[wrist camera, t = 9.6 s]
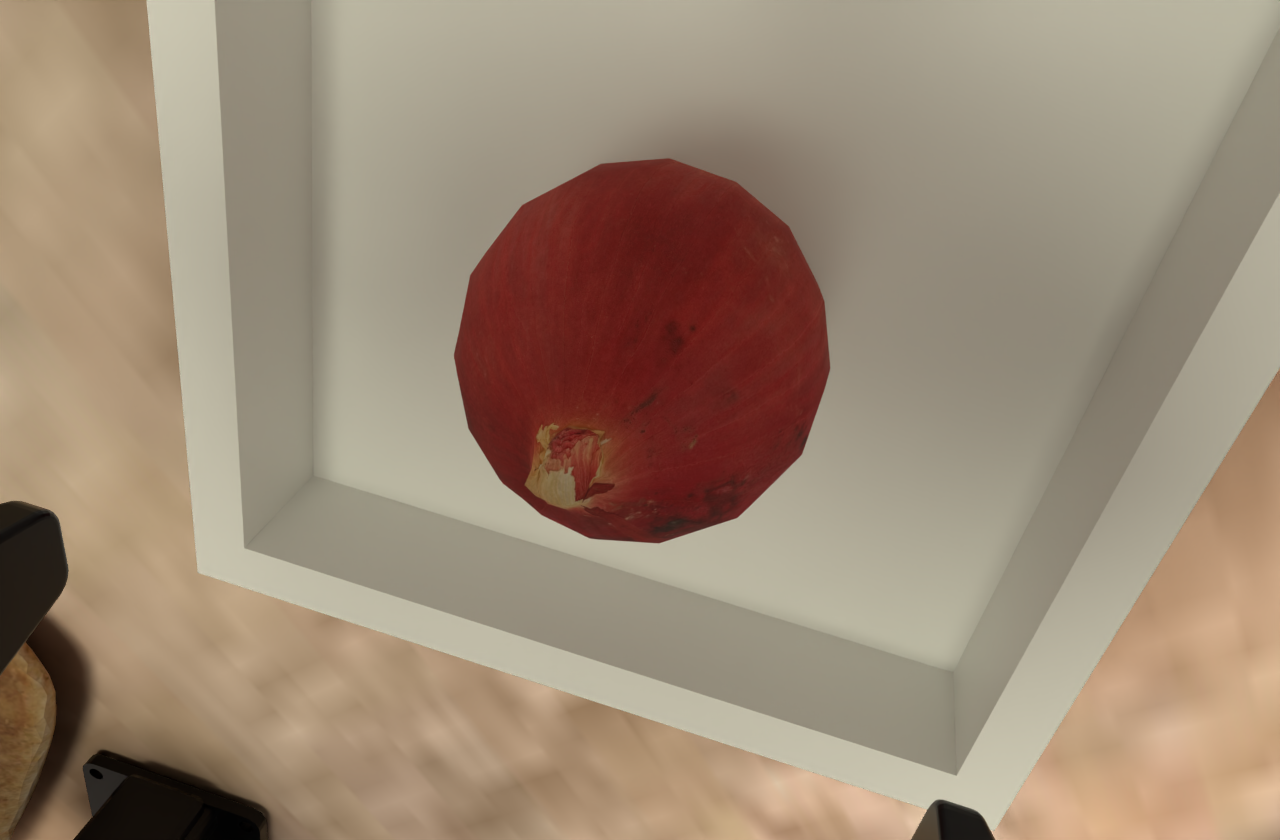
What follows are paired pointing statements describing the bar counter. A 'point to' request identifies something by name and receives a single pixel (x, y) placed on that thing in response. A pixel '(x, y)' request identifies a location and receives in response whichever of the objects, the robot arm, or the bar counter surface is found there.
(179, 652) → the bar counter surface
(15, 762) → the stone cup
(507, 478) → the onion
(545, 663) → the tray
